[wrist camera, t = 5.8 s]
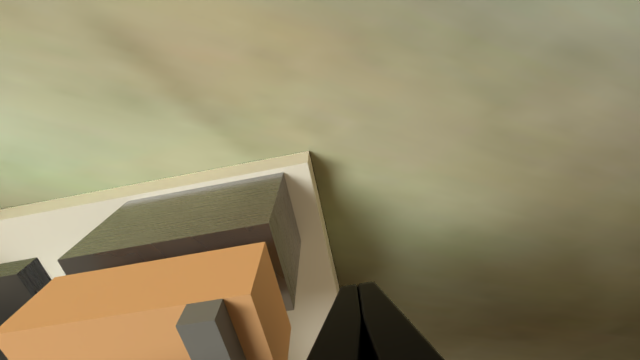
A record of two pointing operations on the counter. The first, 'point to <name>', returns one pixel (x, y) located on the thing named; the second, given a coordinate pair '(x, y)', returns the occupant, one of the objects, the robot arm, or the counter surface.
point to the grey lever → (19, 286)
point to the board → (93, 208)
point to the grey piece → (198, 229)
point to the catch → (158, 312)
